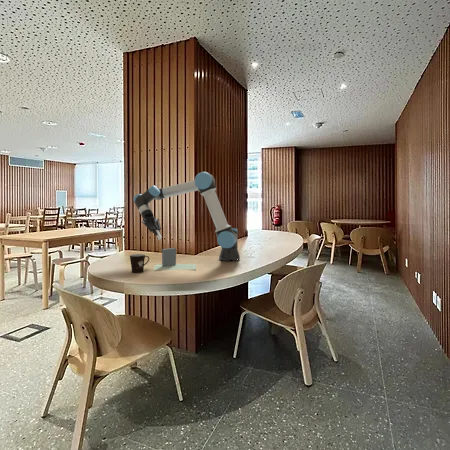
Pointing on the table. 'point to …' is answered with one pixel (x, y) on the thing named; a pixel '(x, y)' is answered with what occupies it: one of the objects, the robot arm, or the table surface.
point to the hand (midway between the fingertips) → (160, 238)
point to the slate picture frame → (168, 257)
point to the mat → (175, 267)
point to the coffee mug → (138, 262)
